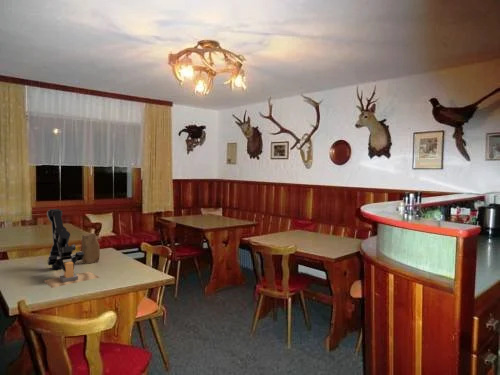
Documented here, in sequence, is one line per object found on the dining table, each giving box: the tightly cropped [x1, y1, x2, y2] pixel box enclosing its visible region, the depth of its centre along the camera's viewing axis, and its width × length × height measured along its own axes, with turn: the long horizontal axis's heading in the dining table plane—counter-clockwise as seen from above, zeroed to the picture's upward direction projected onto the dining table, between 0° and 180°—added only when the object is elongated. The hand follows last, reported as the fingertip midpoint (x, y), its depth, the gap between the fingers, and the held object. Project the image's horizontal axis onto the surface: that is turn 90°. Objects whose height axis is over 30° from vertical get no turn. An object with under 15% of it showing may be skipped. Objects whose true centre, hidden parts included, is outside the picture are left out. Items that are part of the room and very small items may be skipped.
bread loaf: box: [81, 232, 101, 265], centre depth 246 cm, size 11×8×20 cm
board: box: [43, 271, 101, 289], centre depth 208 cm, size 26×16×1 cm, turn 134°
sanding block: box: [59, 260, 78, 282], centre depth 206 cm, size 8×7×10 cm
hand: (69, 270), depth 205 cm, fingers closed on sanding block, 4 cm apart
